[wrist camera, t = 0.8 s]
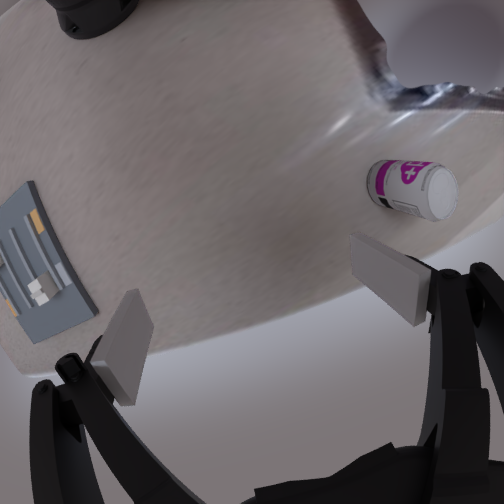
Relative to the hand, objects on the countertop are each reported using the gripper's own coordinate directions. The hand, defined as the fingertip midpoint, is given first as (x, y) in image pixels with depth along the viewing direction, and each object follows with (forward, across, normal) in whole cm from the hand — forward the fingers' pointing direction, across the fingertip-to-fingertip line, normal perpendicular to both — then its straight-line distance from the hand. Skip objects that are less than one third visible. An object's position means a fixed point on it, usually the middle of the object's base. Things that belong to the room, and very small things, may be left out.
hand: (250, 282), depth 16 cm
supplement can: (+26, +28, -1) cm, 38 cm away
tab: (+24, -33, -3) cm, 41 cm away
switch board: (+26, -38, 0) cm, 46 cm away
